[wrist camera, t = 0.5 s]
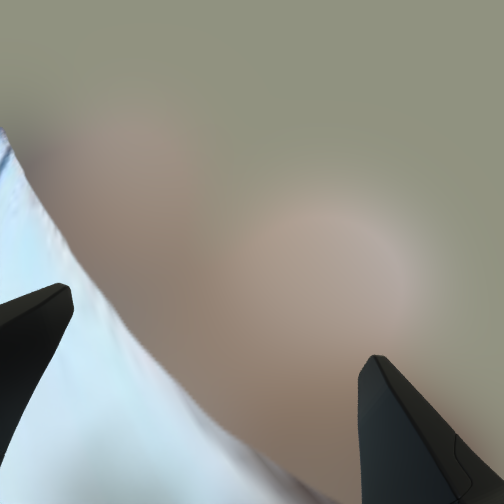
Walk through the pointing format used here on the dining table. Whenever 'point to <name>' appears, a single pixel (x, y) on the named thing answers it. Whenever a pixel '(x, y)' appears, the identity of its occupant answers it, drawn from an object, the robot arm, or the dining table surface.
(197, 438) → the dining table surface
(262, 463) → the dining table surface
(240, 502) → the dining table surface
